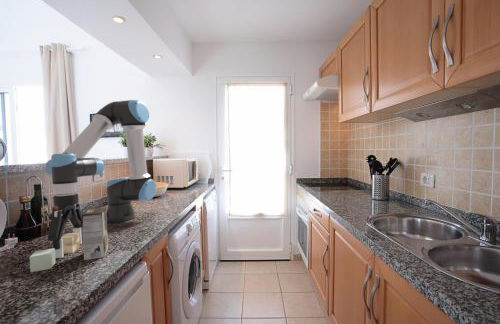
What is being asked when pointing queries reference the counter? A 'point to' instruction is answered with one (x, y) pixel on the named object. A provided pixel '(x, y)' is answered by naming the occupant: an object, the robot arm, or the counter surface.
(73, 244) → the maple block
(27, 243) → the counter surface
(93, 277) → the counter surface
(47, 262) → the sage block
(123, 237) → the counter surface
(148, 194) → the robot arm
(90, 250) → the coffee box
